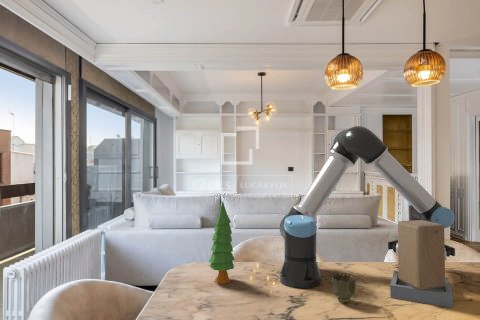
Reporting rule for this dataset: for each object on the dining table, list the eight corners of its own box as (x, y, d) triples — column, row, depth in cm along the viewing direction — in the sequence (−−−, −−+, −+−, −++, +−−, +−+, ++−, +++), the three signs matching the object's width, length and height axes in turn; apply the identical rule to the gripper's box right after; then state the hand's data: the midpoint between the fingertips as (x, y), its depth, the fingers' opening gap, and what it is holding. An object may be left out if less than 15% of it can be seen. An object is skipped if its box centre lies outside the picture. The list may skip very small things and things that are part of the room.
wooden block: (446, 288, 105) (445, 224, 105) (419, 291, 103) (418, 225, 103) (422, 278, 115) (421, 219, 115) (397, 280, 112) (396, 220, 113)
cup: (353, 308, 100) (353, 281, 100) (328, 303, 104) (328, 277, 104) (359, 300, 106) (358, 274, 106) (335, 295, 110) (335, 271, 110)
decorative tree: (218, 287, 118) (218, 201, 119) (203, 280, 125) (203, 199, 126) (240, 281, 124) (239, 199, 125) (224, 274, 131) (224, 198, 132)
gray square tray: (390, 297, 108) (390, 285, 108) (394, 281, 123) (393, 270, 123) (452, 307, 100) (452, 294, 100) (448, 289, 115) (448, 277, 115)
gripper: (459, 254, 122) (466, 270, 103) (384, 247, 134) (379, 260, 115) (458, 234, 122) (466, 246, 103) (384, 228, 134) (378, 238, 115)
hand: (420, 253), depth 109 cm, fingers closed on wooden block, 13 cm apart
